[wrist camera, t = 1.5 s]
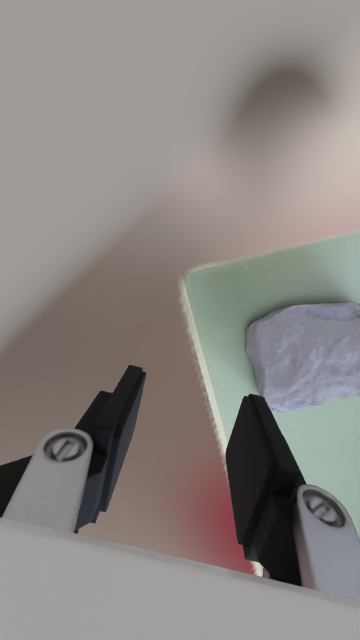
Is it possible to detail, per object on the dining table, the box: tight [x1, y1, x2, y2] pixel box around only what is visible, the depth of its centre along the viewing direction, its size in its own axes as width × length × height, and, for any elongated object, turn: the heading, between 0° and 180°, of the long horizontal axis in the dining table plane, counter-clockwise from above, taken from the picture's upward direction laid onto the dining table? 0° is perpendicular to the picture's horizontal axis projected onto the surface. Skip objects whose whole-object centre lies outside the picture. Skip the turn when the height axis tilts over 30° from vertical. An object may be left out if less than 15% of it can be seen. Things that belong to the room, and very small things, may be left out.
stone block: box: [246, 302, 360, 412], centre depth 26 cm, size 12×5×10 cm
